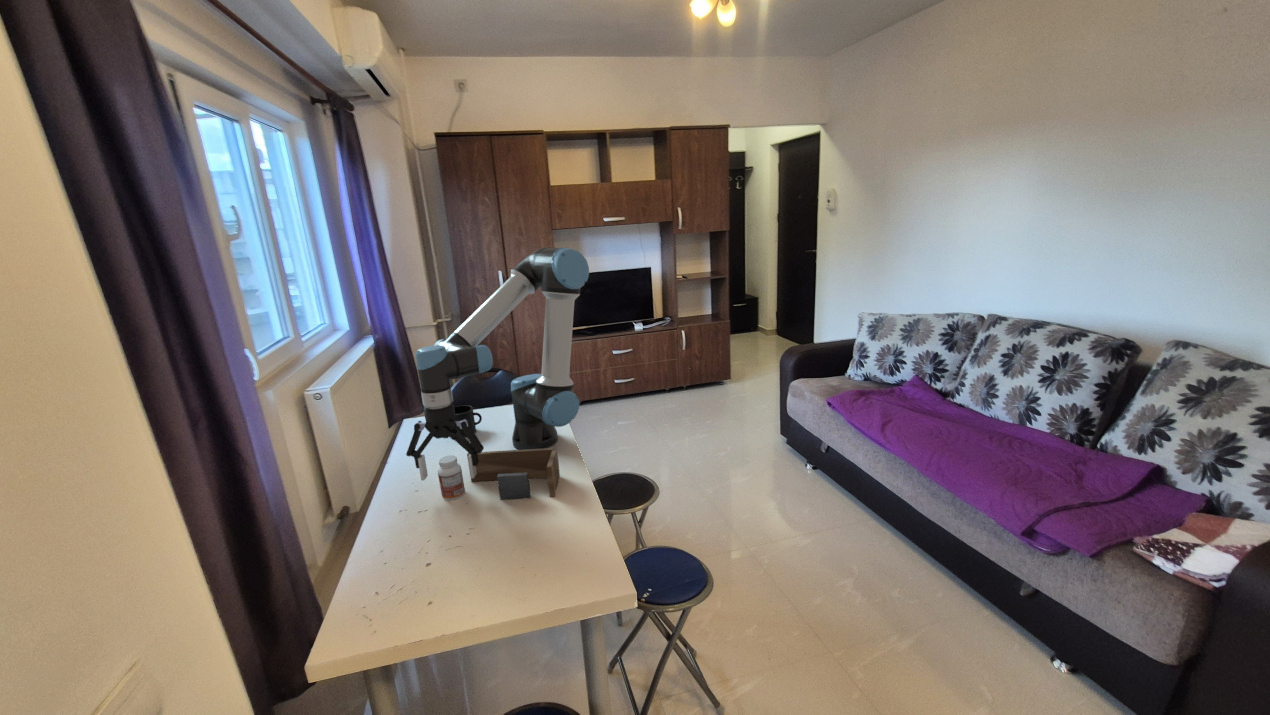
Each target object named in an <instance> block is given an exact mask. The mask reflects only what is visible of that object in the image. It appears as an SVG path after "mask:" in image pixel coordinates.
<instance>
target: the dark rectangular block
mask: <svg viewBox="0 0 1270 715" xmlns="http://www.w3.org/2000/svg"><path fill="white" fill-rule="evenodd" d="M497 480H498V481H497V486H498V494H499V501H504V500H521V499H522V500H524V499H525V500H527V499H530V498H531V496H532V494H531V487H530V480H529V477H528V472H526V473H507V474H498V476H497Z"/></svg>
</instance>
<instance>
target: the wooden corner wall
mask: <svg viewBox="0 0 1270 715" xmlns="http://www.w3.org/2000/svg"><path fill="white" fill-rule="evenodd" d="M469 455H470V454H469V453H468V452H467V454H466V457H467V464H468V465H469V460H468V456H469ZM468 469H469V471H470V467H469V466H468ZM526 472H528V477H529V481H530V480H546V479H547V481H548V491H549V498H554V497H555V496H556V492H557V490H558V485H559V481H560V478H561V475H560V474H561V473H560V466H559V454H558V448H557V447H547V448H544V449H526V450H519V449H513V450H512V449H511V450H497V451H496V450H493V451H489V450H488V451H482V452H481V453H478V464H477V466H476V473H477V474H476V476H475V477H474V478H471V474H470V473H469V476H470V482H471V483H488V482H489V483H490V482H491V483H492V482H493V483H494V482H498V480H497V476H498V474H507V473H526Z"/></svg>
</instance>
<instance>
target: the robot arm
mask: <svg viewBox="0 0 1270 715" xmlns="http://www.w3.org/2000/svg"><path fill="white" fill-rule="evenodd" d="M589 275H590V267H589V263H588V261H587V258H586V257H585V256H584V255H583V253H581V252H580V251H579V250H576V249H574V248H568V247H540V248H537V249H536V250H534V251H533V252H531V253H530V254H528V255H527V256H526V257H524V259H523V260H521V262H519V263H518V264H516V266H515V267H514V268H513V269H512V270H511V271H510V276H509V277H508V279H506V280H505V282H503V283H502V284H501V285H500V286H499V288H497V290H495V292H493V293H492V294H491V295H490V296H489V297H488V298H487V299H486V300H485V301H484V302H483V303H481V305H480V306H479V307H478V308H477V309H476V310H475V311H474V312H473V313H472V314H471V315H470V316H469V317H467V319H466V320H465V321H464V322H463V323H461V325H459V326H458V327H457V328H456V330H454V331H453V332H452V333H451V334H450V335H449V336H448V337H447V338H442V339H441V338H440V339H439V340H437V341H435V343H434V344H433V345H428V346H427V345H426V346H423V347H421V348H419V349H417V351H416V352H415V362H416V369H417V375H418V381H419V385H420V393H421V401H422V405H423V413H424V414H423V415H424V418H425V422H422V421H421V420H418V421H417V422H416V423H415V424H414V425H413V434H412V437H411V440H410V443H409V445H408V448H407V451H406V454H405V455H406V456H407V457H413V459H414V464H415V468H416V469H419V474H420V480H421V481H425V480H426V479H427V477H428V476H429V474H428V468H427V463H426V456H425V454H424V453H423V452H424V450H425V449H426V448H427V446H428V445H429V443H430V442H431V440H432V439H433V438H435V439H436V440H437V439H439V440H440V439H448V438H450V439H451V440H453V441H455V442H456V443H457V444H458V445H460V446H461V448H463V449H464V450H465V451H466V452H467V454H468V453H469V454H470V455H469V456H468V458H467V461H468V460H469V464H468V468H469V467H470V470H469V475H470V474H471V477H470V479H471V478H474V477H475V476H476V474H477V473H476V466H477V464H478V453H481V452H483V451H484V448H485V447H484V445H483V444H482V443H481V440H479V438H478V437H477V435H476V432H475V433H474V432H473V431H472V429H471V428H470V426H469V422H468V420H467V419H464V420H463V421H457V420H456V419H455V410H454V407H455V405H454V403H453V402H454V398H453V397H454V396H453V391H452V382H451V381H452V380H455V379H460V378H461V379H462V378H464V377H470V376H474V375H478V374H483V373H486V372H488V371H490V370H492V368H493V365H494V359H493V354H492V351H491V349H490V348H489V346H487V345H486V344H480V343H481V342H482V341H483V340H484V339H485V338H486V337H487V336H489V334H490V333H491V332H492V331H493V330H495V328H496V327H497V326H498V325H500V324H501V322H502V321H503V320H504V319H505V318H506V317H507V316H508V315H509V314H510V313H511V312H512V311H513V310H514V309H515V308H516V307H517V306H518V305H520V303H521V302H522V301H523V300H524V299H526V297H527V296H528V295H534V294H535V293H536V292H537V291H538V290H539V289H541V293H542V294H543V296H544V297H545V311H544V327H543V330H544V331H543V341H542V343H543V344H542V355H541V356H542V358H541V372H540V373H533V374H526V375H522V376H519V377H515V378H514V379H513V380H512V381H511V382H510V393H511V398H512V406H513V413H514V421H515V422H514V423H515V424H514V428H513V432H512V437H511V438H512V439H511V440H512V441H511V443H512V446H513V448H514V449H515V450H526V449H544V448H551V447H552V446H553V445H555V444H556V443H557V442H558V440H559V436H558V430H557V429H556V428H560V427H564V426H567V425H569V424H570V423H571V422H572V421H573V420H574V419H575V418H576V416H577V414H578V413H579V410H580V401H579V397H578V396H577V394H575V392H574V381H573V380H572V379H571V377H570V370H571V369H570V368H571V357H572V343H573V325H574V315H575V314H574V312H575V301H576V300H577V299H578V297H580V295H581V288H582V287H584V286H585V283H587V282H588V279H589V277H590V276H589ZM479 344H480V345H479ZM457 426H459V427H460V429H462V430H463V432H464V434H465V435H466V437H464V436H462V435H461V434H460V432H459V431H458V430H457V429H456V427H457ZM424 429H426V431H427V432H429V433H428V434H427V435H426V437H425V439H424V440H423V441H422V443H421V444H420V446H419V447H418V449H416V448H417V445H418V443H419V439H420V437H421V434H422V431H423V430H424ZM453 433H454V434H453ZM422 453H423V454H422Z"/></svg>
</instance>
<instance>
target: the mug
mask: <svg viewBox="0 0 1270 715" xmlns="http://www.w3.org/2000/svg"><path fill="white" fill-rule="evenodd" d="M454 410H455V419H456V420H457V421H463V420H464V419H467V420H468V422H469V426H470V428H471V429H472V431H473V432H474V433H475V434H476V431H477V428H476V426H477V425H479V424H481V423H482V420H483V418H482V417H483V416H482V415H481V414H480V412H479V413H478V412H474V408H473V406H472V405H470V404H469V405H467V404H463V405H461V404H460V405H456V406H455V405H454ZM475 416H477V417H478V419H479V420H478V421H476V420H475ZM456 429H457V430H458V431H459V432H460V434H461V435H462V436H464V437H465V438H467V437H466V435H465V434H464V432H463V430H462V429H460V427H459V426H457V427H456ZM453 434H454V433H453Z"/></svg>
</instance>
